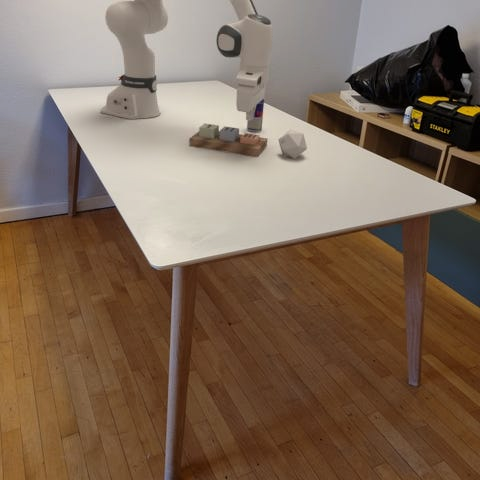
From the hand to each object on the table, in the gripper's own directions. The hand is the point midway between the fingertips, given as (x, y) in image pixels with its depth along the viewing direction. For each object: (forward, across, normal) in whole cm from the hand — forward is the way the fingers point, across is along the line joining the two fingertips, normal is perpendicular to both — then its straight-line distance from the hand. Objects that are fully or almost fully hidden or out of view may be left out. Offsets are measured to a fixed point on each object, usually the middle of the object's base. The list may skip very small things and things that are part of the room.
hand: (249, 119), depth 154 cm
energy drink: (+10, -21, -3) cm, 23 cm away
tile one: (+9, 0, -13) cm, 16 cm away
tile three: (+9, 0, +1) cm, 9 cm away
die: (+10, 0, +15) cm, 18 cm away
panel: (+10, 0, -6) cm, 12 cm away
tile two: (+8, 0, -6) cm, 10 cm away
